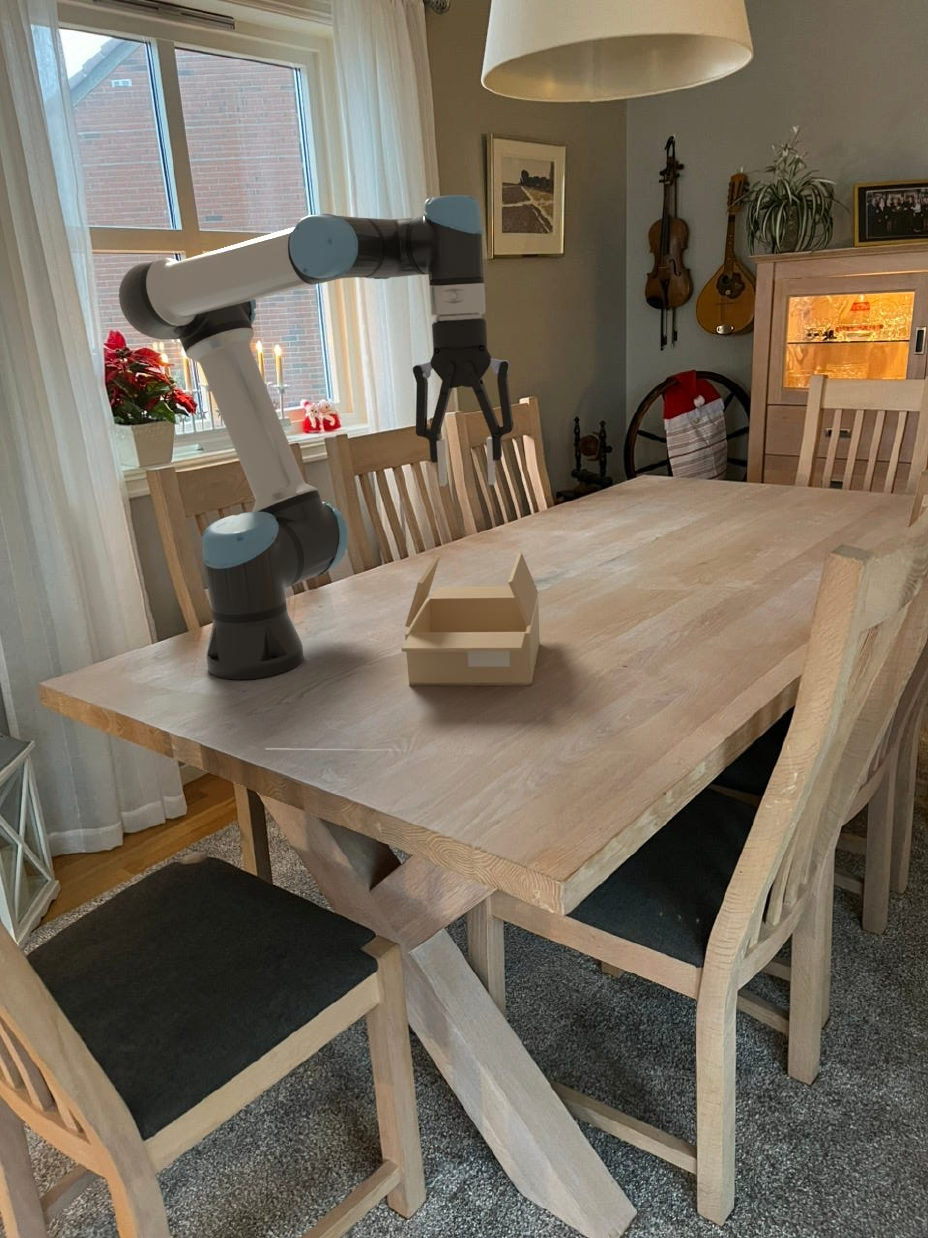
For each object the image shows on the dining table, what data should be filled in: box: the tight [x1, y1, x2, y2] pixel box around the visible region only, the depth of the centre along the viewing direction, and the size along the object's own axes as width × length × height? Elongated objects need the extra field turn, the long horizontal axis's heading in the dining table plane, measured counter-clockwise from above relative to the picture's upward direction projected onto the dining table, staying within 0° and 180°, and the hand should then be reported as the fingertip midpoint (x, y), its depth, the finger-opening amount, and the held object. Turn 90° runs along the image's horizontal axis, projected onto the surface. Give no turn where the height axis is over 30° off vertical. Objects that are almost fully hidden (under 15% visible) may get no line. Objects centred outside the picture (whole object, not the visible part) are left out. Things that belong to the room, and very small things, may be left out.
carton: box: [401, 585, 541, 687], centre depth 148 cm, size 18×30×8 cm, turn 172°
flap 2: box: [508, 552, 539, 626], centre depth 145 cm, size 1×16×7 cm, turn 172°
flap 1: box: [405, 553, 441, 628], centre depth 147 cm, size 1×16×7 cm, turn 172°
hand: (467, 483), depth 141 cm, fingers open, 6 cm apart
